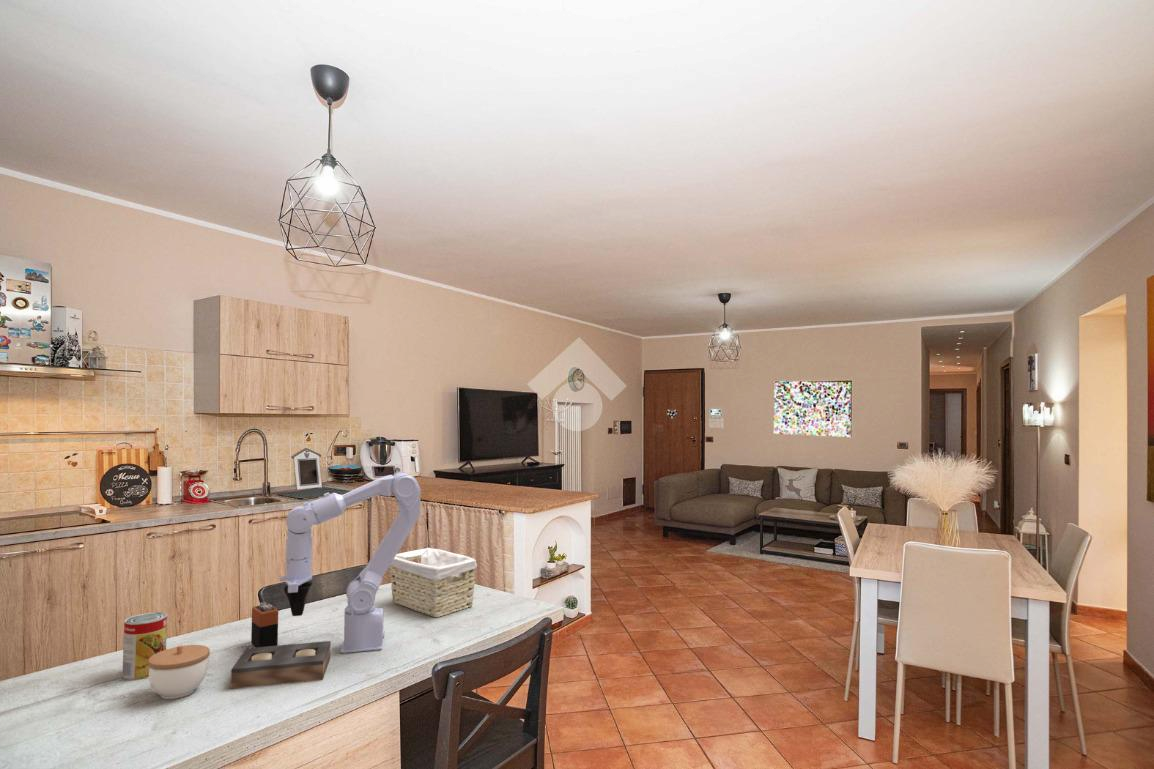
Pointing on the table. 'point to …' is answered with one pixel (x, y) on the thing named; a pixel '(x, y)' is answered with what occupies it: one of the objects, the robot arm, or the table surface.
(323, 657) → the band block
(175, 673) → the lidded jar
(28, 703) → the table surface
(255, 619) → the battery
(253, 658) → the outer peg
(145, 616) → the canned food
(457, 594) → the storage basket
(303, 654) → the inner peg
